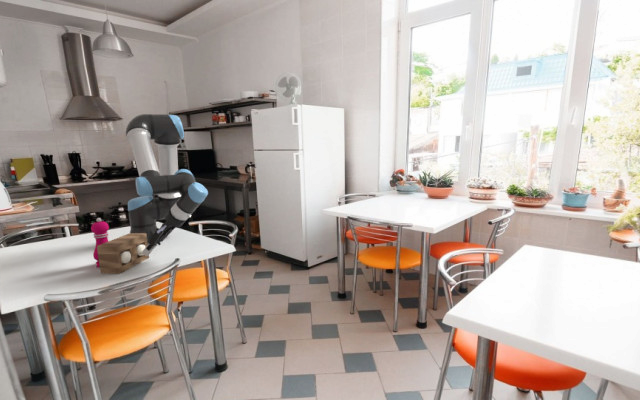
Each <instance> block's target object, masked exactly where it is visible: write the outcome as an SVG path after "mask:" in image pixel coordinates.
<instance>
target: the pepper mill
mask: <svg viewBox="0 0 640 400" xmlns="http://www.w3.org/2000/svg"><path fill="white" fill-rule="evenodd" d="M95 221H96V222H93V223H92V224H91V227H90V229H91V230H90V231H91V232H92V233H93V238H94V239H95V247H94V250H93V255H92V256H93V259H94V260H95V261H96V262H95V266H96V267H97V268H100V264H99V258H98V251H97V246H98V245H101V244H103V243H106V242H109V232H108V231H109V230H110V226H109V224H108V223H107V222H106V221H104V220H103V221H102V218H101V217H97V218H96V220H95Z"/></svg>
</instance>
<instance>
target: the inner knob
mask: <svg viewBox="0 0 640 400" xmlns="http://www.w3.org/2000/svg"><path fill="white" fill-rule="evenodd" d="M145 248H146V247H145V245H136V250H137V255H140V256H142V255H144V254H143V253H142V251H143V250H144V249H145Z"/></svg>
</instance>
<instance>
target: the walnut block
mask: <svg viewBox="0 0 640 400" xmlns="http://www.w3.org/2000/svg"><path fill="white" fill-rule="evenodd" d="M136 245H145V247H146V246H147V245H148V243H147V235H146V233H130V232H129V233H126V234H124V235H122V236H119V237H117V238H114V239H112V240H108V242H106V243H103V244H101V245H98V246H97V251H98V258H99V264H100V267H99V270H100V274H111V275H112V274H117V275H120V274H122V273H124V272H126V271H127V270H129V269H131V268H133V267H135V266H137V265H139V264H140V263H143V262H144V261H146V260H148V259H149V258H150V254H149V255H148V256H145V255H142V256H140V255H137V250H136ZM123 251H128V252H130V254H131V259H130V261H129V262H128V263H122V261H121V254H120V253H121V252H123Z"/></svg>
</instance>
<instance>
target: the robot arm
mask: <svg viewBox="0 0 640 400" xmlns="http://www.w3.org/2000/svg"><path fill="white" fill-rule="evenodd" d="M125 136H126V140H127V142H128V143H129V144H130V145H131V151H132V153H133V156H134V161H135V166H136V169H137V172H138V176H139V177H136V178H135V189H136V192H137V193H136V194H137V195H138V197H134V198H131V199H129V200H128V202H127V211H128V217H129V225H130V231H129V233H146V235H147V243H148V245H147V246H146V248H145V249H144V250H143V251H142V253H143V254H144V255H145V256H148V255H149V256H150V255H151V254H152V252H153V251H154V250H155V249H156V248H157V246H160V245H161V244H162V242H163V241H164V240H165V239H166V238H168V236H170V235H171V233H173V231H174V230H175V229H176V228H180V227H182V226H183V225H184V223H186V221H187V220H188V219H189V218H192V214H193V213H194V212H195V211H196V210H197V208H199V206H200V205H202V203H203V202H204V201H205V200H206V198H207V196H208V195H209V191H208V189H207V188H206V186H204V185H203V184H202V183H199V182H197V180H196V178H195V176H194V174H193V173H192V172H191V170H189V169H185V168H181V169H179V165H178V164H179V162H178V161H179V159H178V146H179V145H180V144H181V140H184V138H185V132H184V127H183V122H182V121H181V118H180V117H179V116H178V115H176V114H165V113H163V114H157V113H156V114H154V113H153V114H151V113H143V114H142V113H141V114H139V115H136V116H134V117H133V118H132V119H131V120H130V121H129V122H128V124H127V125H126V128H125ZM151 140H153V141H154V142H153V143H154V144H155V145H156V146H157V149H158V151H157V152H158V163H157V160H156V156H155V154H154V151H153V147H152V143H151ZM158 165H159V166H158ZM154 196H157V197H154ZM159 220H165V221H164V222H162V224H161V226H160V227H158V226H157V221H159Z"/></svg>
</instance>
